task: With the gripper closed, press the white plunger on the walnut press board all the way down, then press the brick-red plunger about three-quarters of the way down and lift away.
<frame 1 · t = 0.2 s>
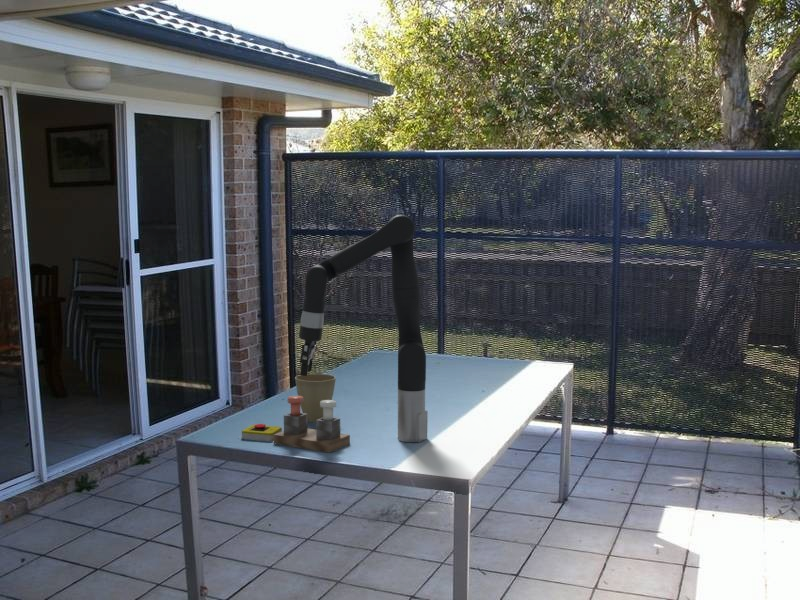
hand: (305, 373, 269), 23 cm above the table, tool pointing down, fingers open, 8 cm apart
plant pot: (315, 420, 298), on the table
red plunger: (295, 407, 268), point 11 cm above the table, slide at 0.0 cm
white plunger: (328, 412, 262), point 11 cm above the table, slide at 0.0 cm
press board: (311, 443, 266), on the table
emergency button: (263, 438, 275), on the table
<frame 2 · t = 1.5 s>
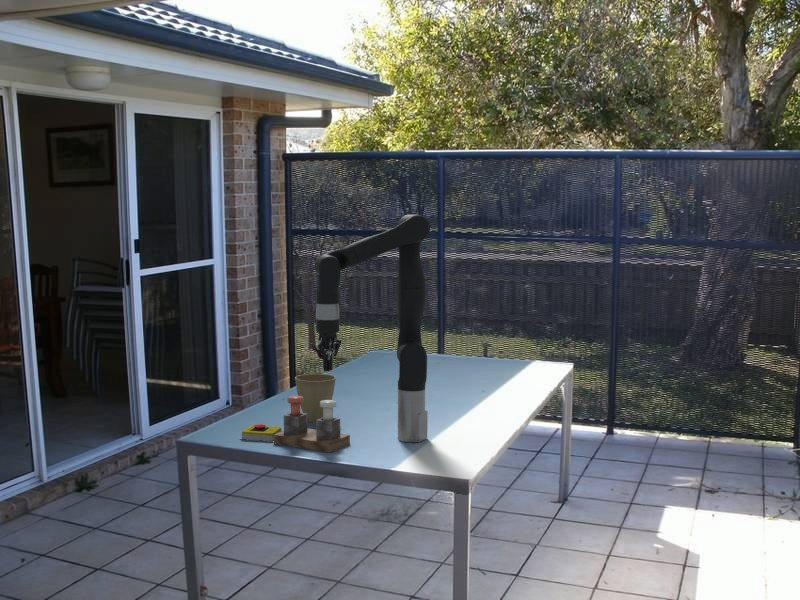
hand: (327, 370, 261), 25 cm above the table, tool pointing down, fingers closed
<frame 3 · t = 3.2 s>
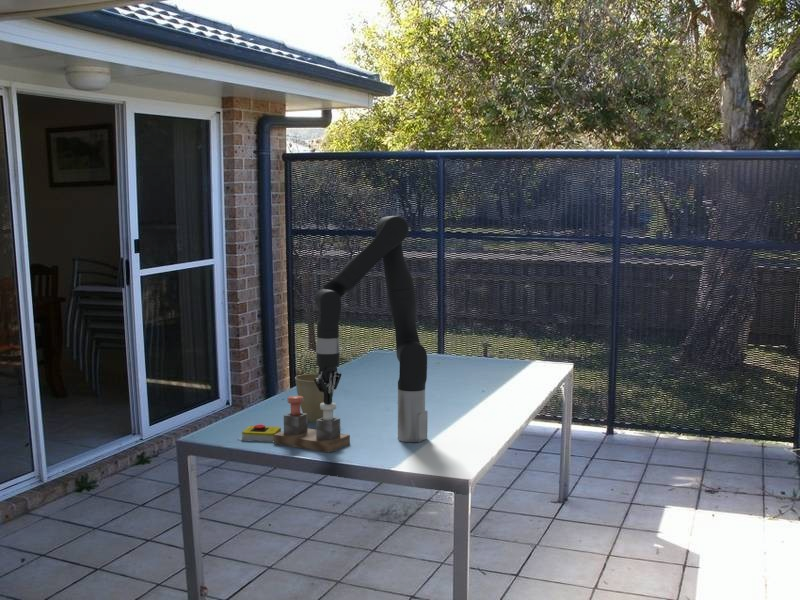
hand: (328, 403, 262), 14 cm above the table, tool pointing down, fingers closed
white plunger: (328, 414, 262), point 11 cm above the table, slide at 0.8 cm, touching gripper
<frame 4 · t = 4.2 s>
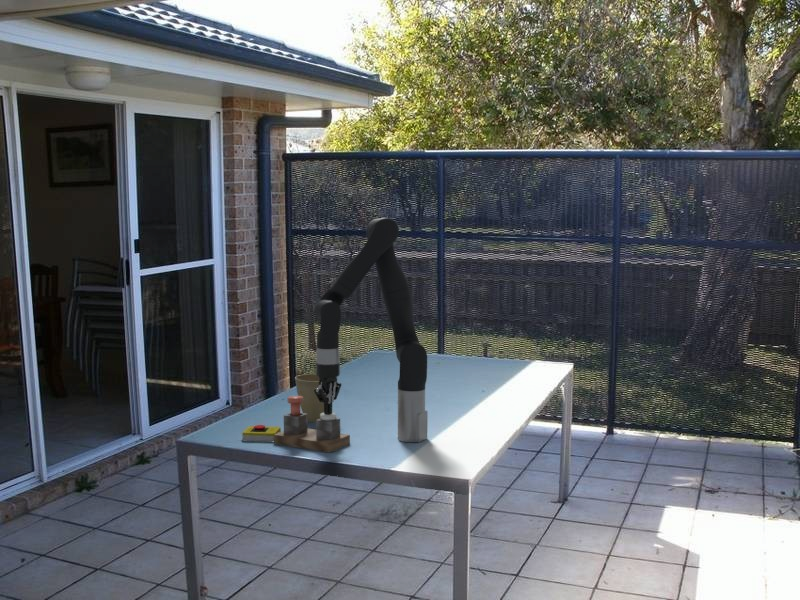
hand: (328, 414, 262), 11 cm above the table, tool pointing down, fingers closed
white plunger: (328, 424, 262), point 7 cm above the table, slide at 4.1 cm, touching gripper
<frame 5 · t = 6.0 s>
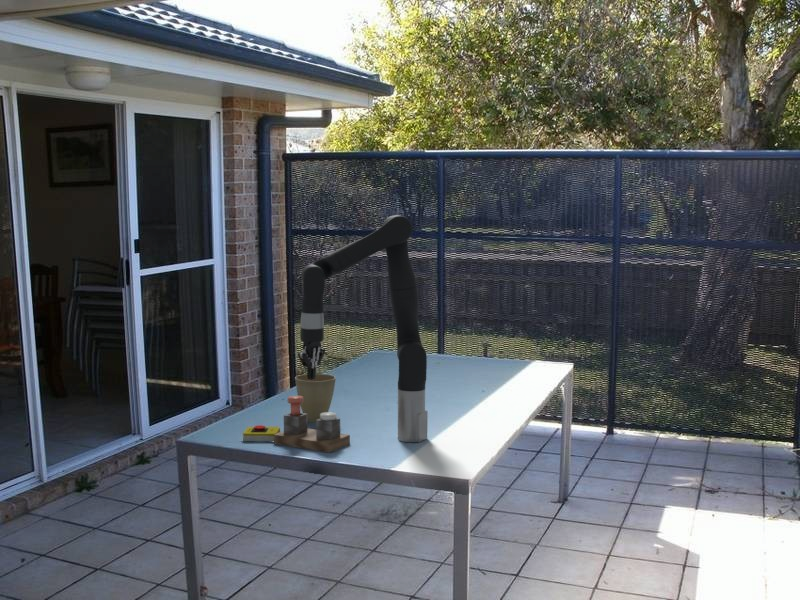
hand: (311, 379, 263), 22 cm above the table, tool pointing down, fingers closed
white plunger: (328, 424, 262), point 7 cm above the table, slide at 4.1 cm
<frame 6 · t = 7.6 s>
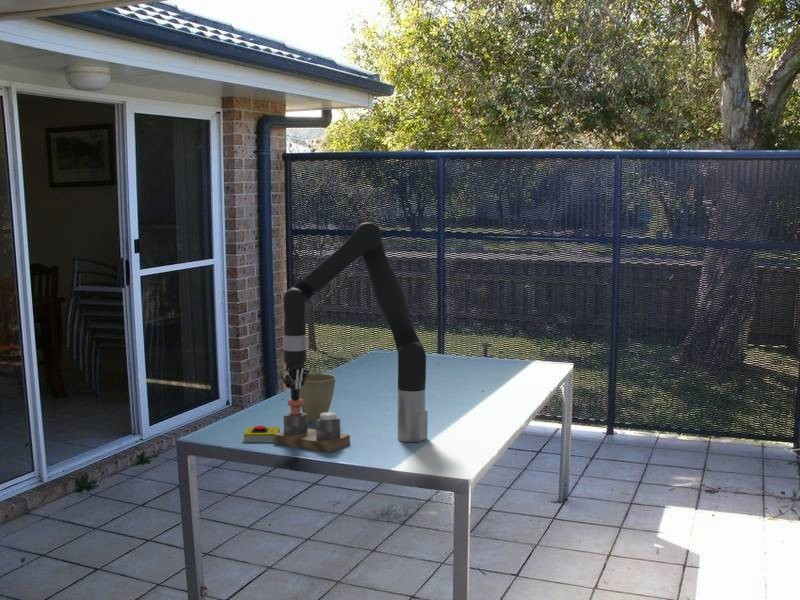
hand: (295, 399, 268), 14 cm above the table, tool pointing down, fingers closed
red plunger: (295, 410, 268), point 11 cm above the table, slide at 0.9 cm, touching gripper
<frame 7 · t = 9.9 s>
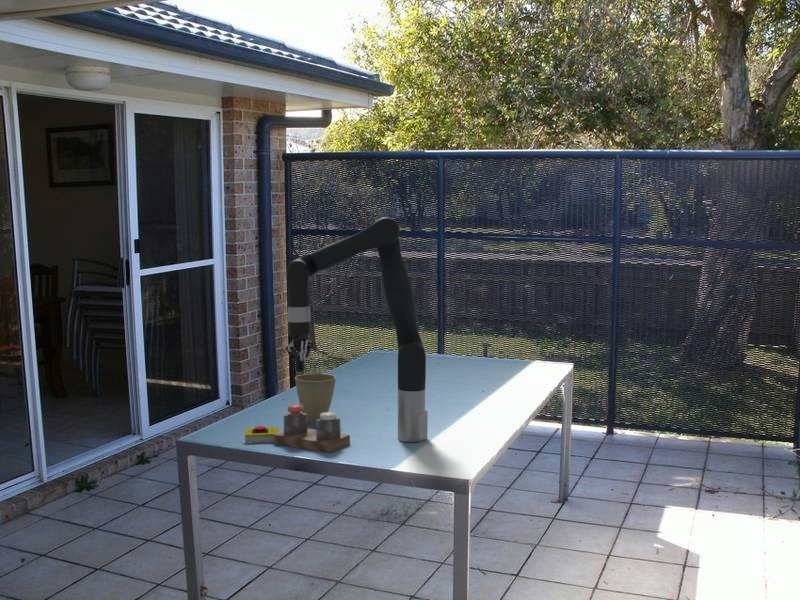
hand: (300, 371, 268), 23 cm above the table, tool pointing down, fingers closed
red plunger: (295, 416, 269), point 8 cm above the table, slide at 3.0 cm
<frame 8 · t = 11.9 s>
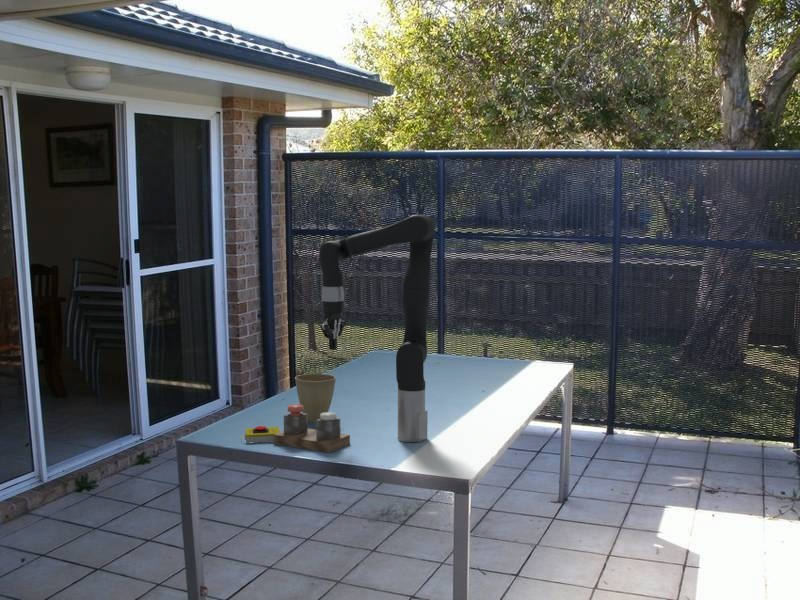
hand: (333, 349, 278), 29 cm above the table, tool pointing down, fingers closed
at the end: white plunger slide at 4.1 cm; red plunger slide at 3.0 cm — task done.
